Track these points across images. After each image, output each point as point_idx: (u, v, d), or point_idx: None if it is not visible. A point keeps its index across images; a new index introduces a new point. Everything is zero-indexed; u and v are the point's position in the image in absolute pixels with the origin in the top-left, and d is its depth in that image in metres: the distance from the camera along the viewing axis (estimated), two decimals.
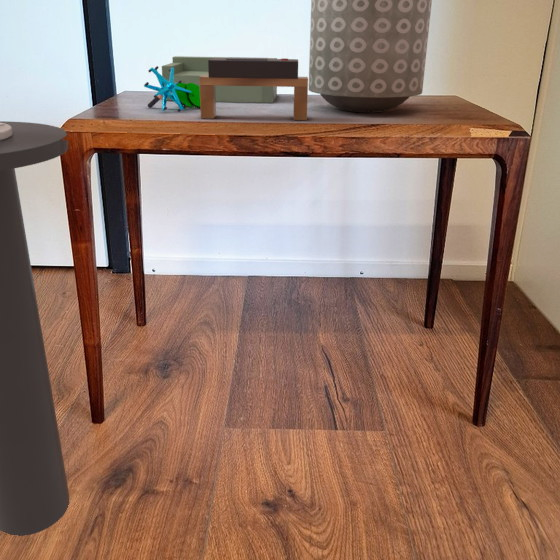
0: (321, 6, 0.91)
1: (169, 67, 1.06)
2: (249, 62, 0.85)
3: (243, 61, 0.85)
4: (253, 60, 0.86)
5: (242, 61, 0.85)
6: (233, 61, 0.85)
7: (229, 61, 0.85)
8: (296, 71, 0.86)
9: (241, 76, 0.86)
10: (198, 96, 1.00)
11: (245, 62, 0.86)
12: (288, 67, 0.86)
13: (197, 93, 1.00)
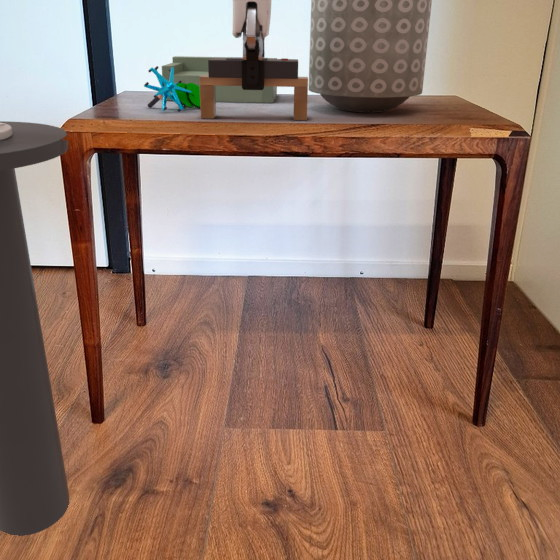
0: (321, 6, 0.91)
1: (169, 67, 1.06)
2: None
3: None
4: None
5: None
6: (233, 61, 0.85)
7: (229, 61, 0.85)
8: (296, 71, 0.86)
9: (241, 76, 0.86)
10: (198, 96, 1.00)
11: None
12: (288, 67, 0.86)
13: (197, 93, 1.00)
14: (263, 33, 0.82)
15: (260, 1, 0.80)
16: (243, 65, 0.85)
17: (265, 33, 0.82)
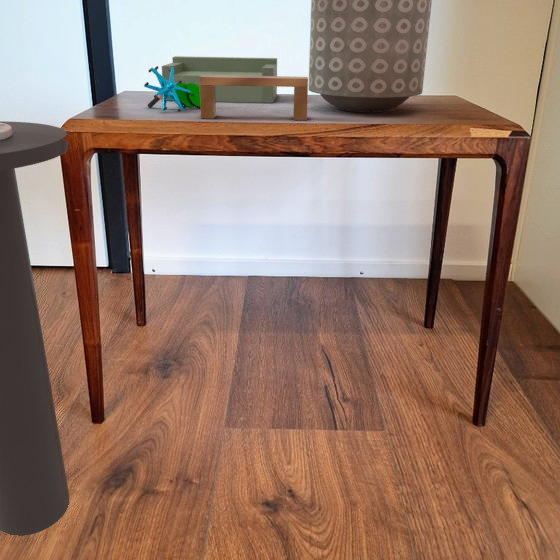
0: (321, 6, 0.91)
1: (169, 67, 1.06)
2: None
3: None
4: None
5: None
6: None
7: None
8: None
9: None
10: (198, 96, 1.00)
11: None
12: None
13: (197, 93, 1.00)
14: None
15: None
16: None
17: None
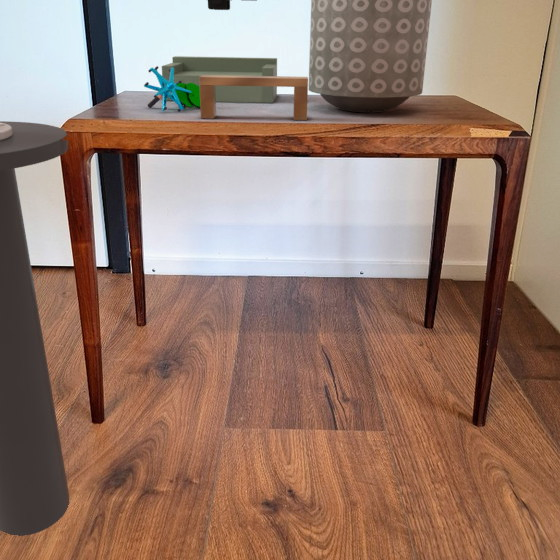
0: (321, 6, 0.91)
1: (169, 67, 1.06)
2: None
3: None
4: None
5: None
6: None
7: None
8: None
9: None
10: (198, 96, 1.00)
11: None
12: None
13: (197, 93, 1.00)
14: None
15: None
16: None
17: None
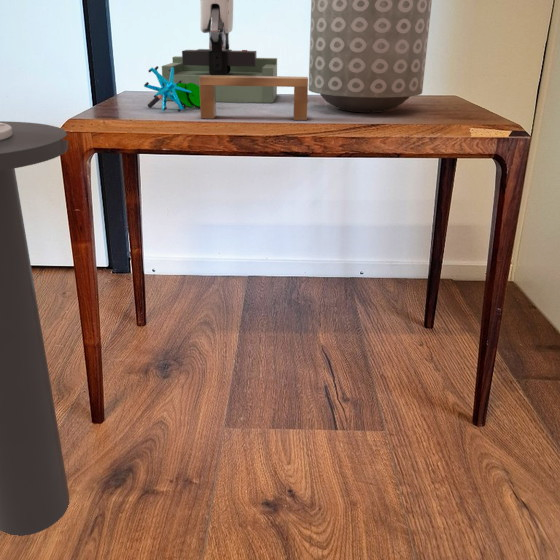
0: (321, 6, 0.91)
1: (169, 67, 1.06)
2: None
3: None
4: None
5: None
6: (202, 52, 1.06)
7: (199, 52, 1.06)
8: (253, 60, 1.06)
9: None
10: (198, 96, 1.00)
11: None
12: (247, 56, 1.06)
13: (197, 93, 1.00)
14: (225, 29, 1.02)
15: (222, 3, 1.00)
16: (210, 55, 1.05)
17: (226, 29, 1.02)
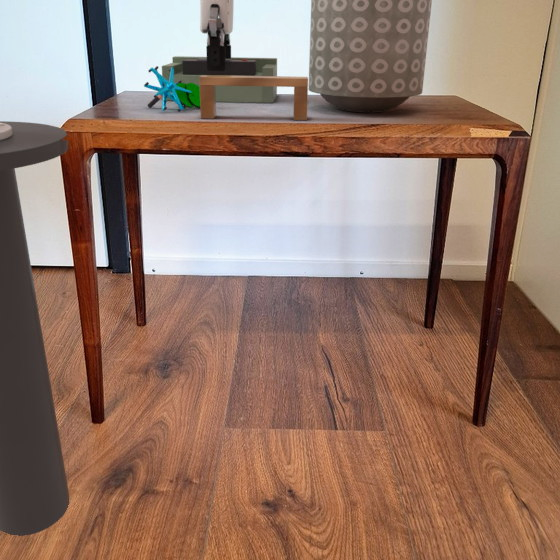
0: (321, 6, 0.91)
1: (169, 67, 1.06)
2: None
3: None
4: None
5: None
6: (202, 61, 1.06)
7: (199, 61, 1.06)
8: (253, 69, 1.07)
9: (209, 73, 1.07)
10: (198, 96, 1.00)
11: None
12: (247, 66, 1.06)
13: (197, 93, 1.00)
14: (224, 29, 1.02)
15: (222, 4, 1.00)
16: (208, 50, 1.03)
17: (226, 29, 1.02)
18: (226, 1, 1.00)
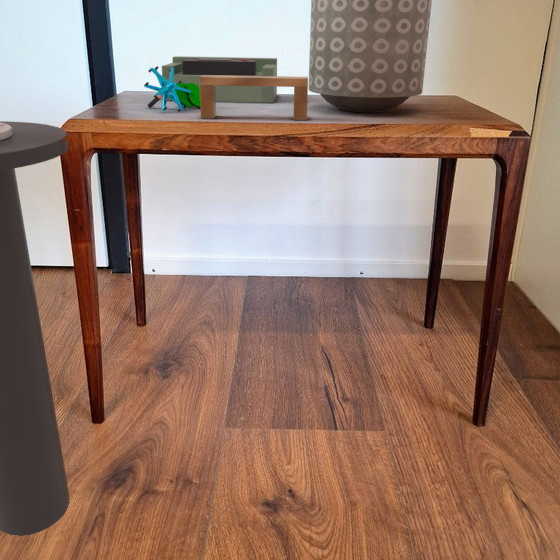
0: (321, 6, 0.91)
1: (169, 67, 1.06)
2: (215, 62, 1.06)
3: (210, 61, 1.06)
4: (218, 61, 1.07)
5: (209, 61, 1.06)
6: (202, 61, 1.06)
7: (199, 61, 1.06)
8: (253, 69, 1.07)
9: (209, 73, 1.07)
10: (198, 96, 1.00)
11: (212, 62, 1.06)
12: (247, 66, 1.06)
13: (197, 93, 1.00)
14: None
15: None
16: None
17: None
18: None
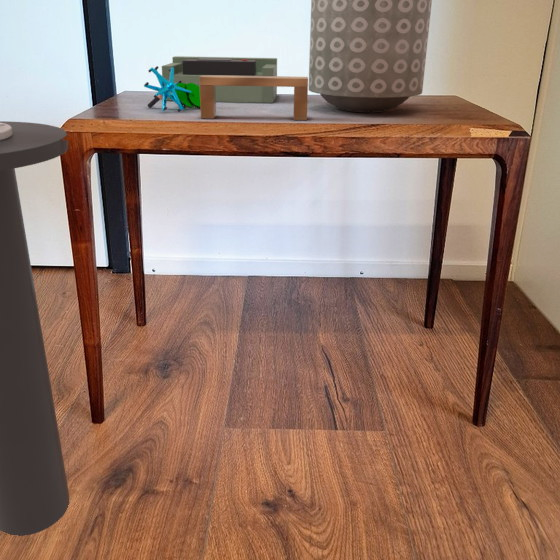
0: (321, 6, 0.91)
1: (169, 67, 1.06)
2: (215, 62, 1.06)
3: (210, 61, 1.06)
4: (218, 61, 1.07)
5: (209, 61, 1.06)
6: (202, 61, 1.06)
7: (199, 61, 1.06)
8: (253, 69, 1.07)
9: (209, 73, 1.07)
10: (198, 96, 1.00)
11: (212, 62, 1.06)
12: (247, 66, 1.06)
13: (197, 93, 1.00)
14: None
15: None
16: None
17: None
18: None
